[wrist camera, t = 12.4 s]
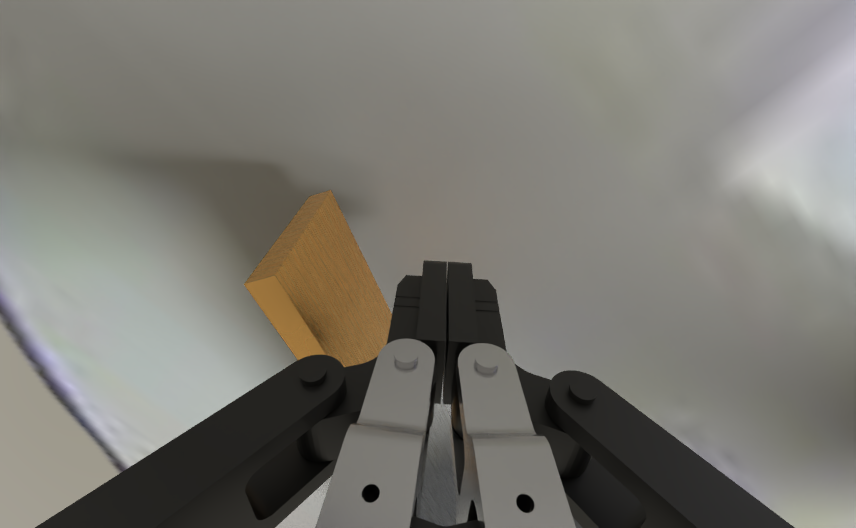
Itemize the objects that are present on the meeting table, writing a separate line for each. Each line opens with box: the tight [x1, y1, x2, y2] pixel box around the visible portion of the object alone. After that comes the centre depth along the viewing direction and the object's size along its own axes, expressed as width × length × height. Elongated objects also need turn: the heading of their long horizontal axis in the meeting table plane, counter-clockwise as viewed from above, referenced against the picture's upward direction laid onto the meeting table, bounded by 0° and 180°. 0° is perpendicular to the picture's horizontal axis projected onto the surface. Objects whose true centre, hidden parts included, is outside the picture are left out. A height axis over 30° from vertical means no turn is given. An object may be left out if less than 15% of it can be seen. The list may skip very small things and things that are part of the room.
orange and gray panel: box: [244, 190, 456, 526], centre depth 16 cm, size 19×1×8 cm, turn 18°
